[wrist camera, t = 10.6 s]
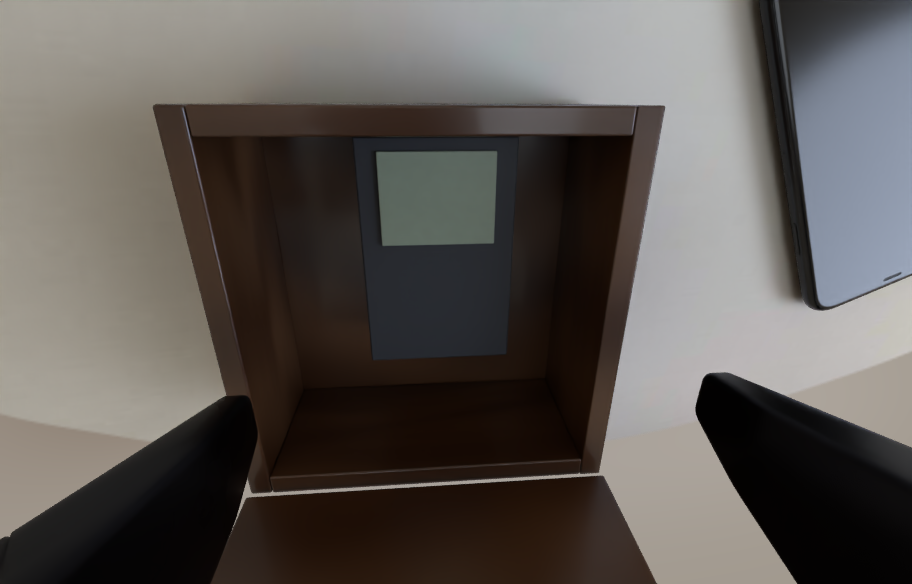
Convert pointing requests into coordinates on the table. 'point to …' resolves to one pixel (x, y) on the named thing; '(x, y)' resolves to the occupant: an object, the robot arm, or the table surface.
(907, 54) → the smartphone
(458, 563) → the case lid
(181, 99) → the table surface
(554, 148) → the case
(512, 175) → the black lcd device
